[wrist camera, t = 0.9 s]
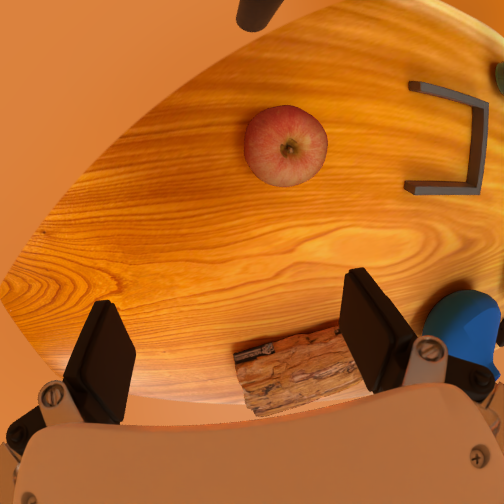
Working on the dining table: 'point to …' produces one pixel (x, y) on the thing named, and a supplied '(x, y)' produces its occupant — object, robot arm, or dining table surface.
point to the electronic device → (500, 335)
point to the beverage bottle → (500, 76)
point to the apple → (285, 146)
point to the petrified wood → (295, 371)
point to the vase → (467, 326)
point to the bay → (475, 153)
